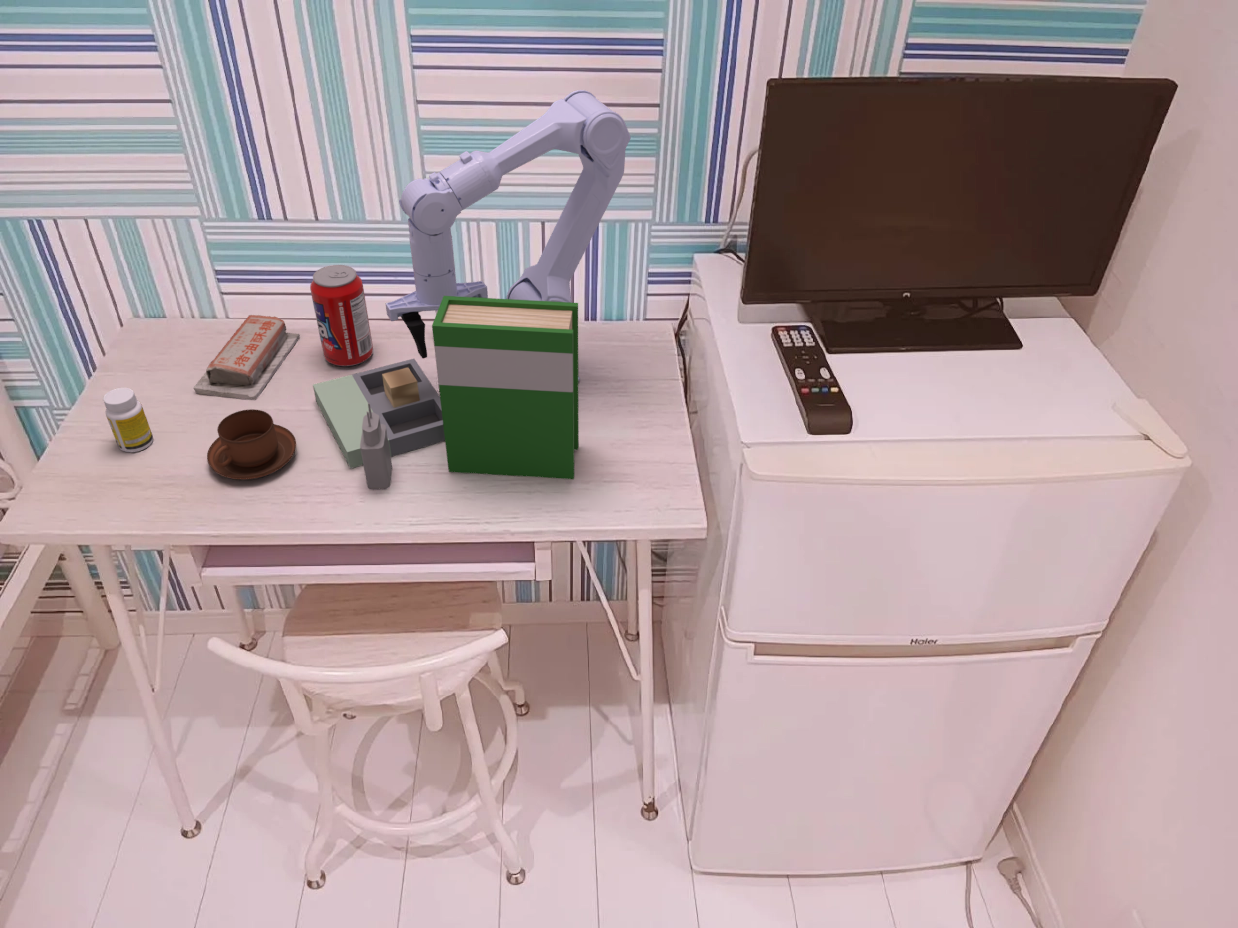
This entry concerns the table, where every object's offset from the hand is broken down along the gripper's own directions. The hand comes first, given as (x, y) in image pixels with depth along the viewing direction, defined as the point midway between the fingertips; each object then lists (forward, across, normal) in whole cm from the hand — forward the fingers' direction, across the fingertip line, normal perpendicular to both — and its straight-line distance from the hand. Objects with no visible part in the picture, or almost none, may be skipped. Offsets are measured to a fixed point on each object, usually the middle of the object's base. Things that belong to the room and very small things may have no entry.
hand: (442, 349), depth 145 cm
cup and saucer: (+10, +29, +1) cm, 31 cm away
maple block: (+6, +7, 0) cm, 9 cm away
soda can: (+10, +10, -18) cm, 23 cm away
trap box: (+9, +10, 0) cm, 14 cm away
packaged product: (+10, +25, -23) cm, 35 cm away
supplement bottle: (+10, +44, -10) cm, 46 cm away
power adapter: (+10, +15, +12) cm, 22 cm away
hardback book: (+10, -4, +17) cm, 20 cm away
